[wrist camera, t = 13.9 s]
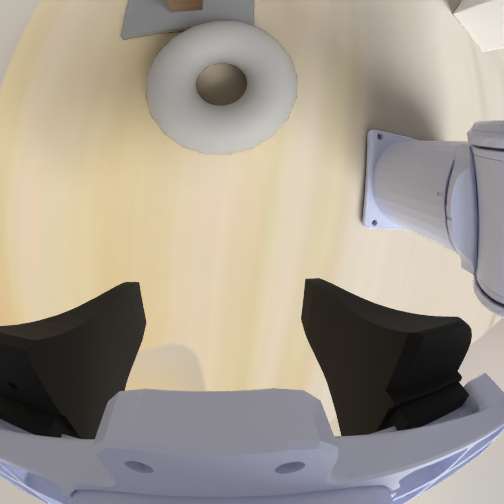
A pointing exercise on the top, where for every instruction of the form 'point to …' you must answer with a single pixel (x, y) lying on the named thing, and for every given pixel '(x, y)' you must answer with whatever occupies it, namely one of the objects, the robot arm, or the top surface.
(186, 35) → the donut
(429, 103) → the top surface
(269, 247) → the top surface
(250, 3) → the mat
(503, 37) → the milk
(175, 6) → the tall brown wooden block
